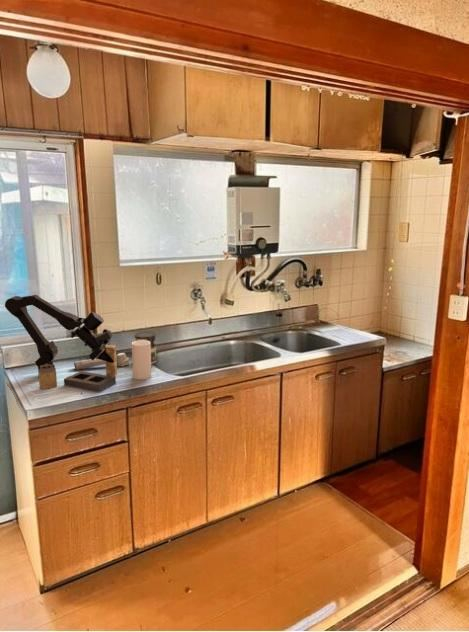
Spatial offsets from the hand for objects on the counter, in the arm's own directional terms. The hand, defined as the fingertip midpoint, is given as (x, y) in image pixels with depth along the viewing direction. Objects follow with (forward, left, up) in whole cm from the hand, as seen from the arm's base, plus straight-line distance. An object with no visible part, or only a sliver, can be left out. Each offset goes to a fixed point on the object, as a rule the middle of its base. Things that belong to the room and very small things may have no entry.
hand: (114, 360), depth 210 cm
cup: (+12, -5, -7) cm, 15 cm away
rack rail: (-11, -8, -7) cm, 15 cm away
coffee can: (+17, +16, -7) cm, 25 cm away
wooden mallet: (-5, +14, -8) cm, 17 cm away
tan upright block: (-28, -6, -7) cm, 30 cm away
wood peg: (-1, 0, -7) cm, 7 cm away
